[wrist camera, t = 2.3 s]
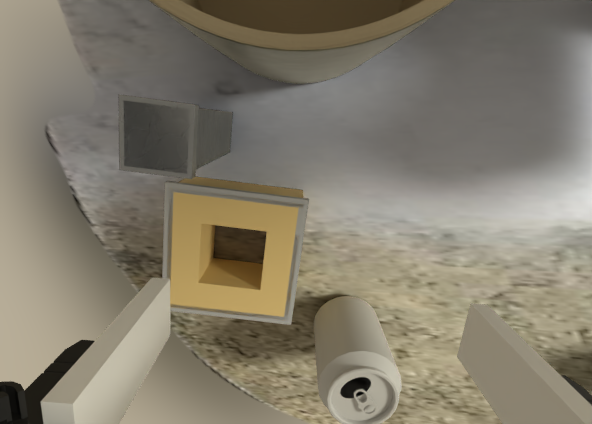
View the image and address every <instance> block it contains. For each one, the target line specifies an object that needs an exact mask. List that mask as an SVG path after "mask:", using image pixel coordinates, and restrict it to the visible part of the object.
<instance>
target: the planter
mask: <svg viewBox="0 0 592 424" xmlns="http://www.w3.org/2000/svg"><path fill="white" fill-rule="evenodd" d="M149 1H150V2H151V3H153V4H154V5H155V6H157V7H158V8H159V9H161V10H162V11H163V12H165V13H166V14H167V15H169V16H170V17H171V18H173V19H174V20H175V21H177V22H178V23H180V24H181V25H182V26H184V27H185V28H186V29H188V30H189V31H191V32H192V33H193V34H195V35H196V36H197V37H199V38H200V39H202V40H203V41H205V42H206V43H208V44H209V45H210V46H212V47H213V48H215V49H216V50H218V51H219V52H221V53H222V54H224V55H225V56H227V57H229V58H230V59H232V60H233V61H235V62H236V63H238V64H239V65H241V66H242V67H244V68H246V69H247V70H249V71H251V72H253V73H255V74H257V75H260V76H262V77H265V78H268V79H271V80H275V81H279V82H285V83H295V84H305V83H315V82H321V81H326V80H329V79H333V78H336V77H338V76H341V75H343V74H345V73H347V72H349V71H351V70H353V69H355V68H356V67H358V66H360V65H361V64H363V63H364V62H366V61H367V60H369V59H371V58H372V57H374V56H376V55H377V54H379V53H381V52H382V51H384V50H385V49H387V48H388V47H390V46H391V45H393V44H394V43H396V42H397V41H399V40H400V39H402V38H403V37H404V36H406V35H407V34H409V33H410V32H412V31H413V30H414V29H416V28H417V27H419V26H420V25H422V24H423V23H424V22H426V21H427V20H429V19H430V18H431V17H433V16H434V15H436V14H437V13H438V12H440V11H441V10H443V9H444V8H445V7H447V6H448V5H449V4H451V3H452V2H454V1H455V0H149Z"/></svg>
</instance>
